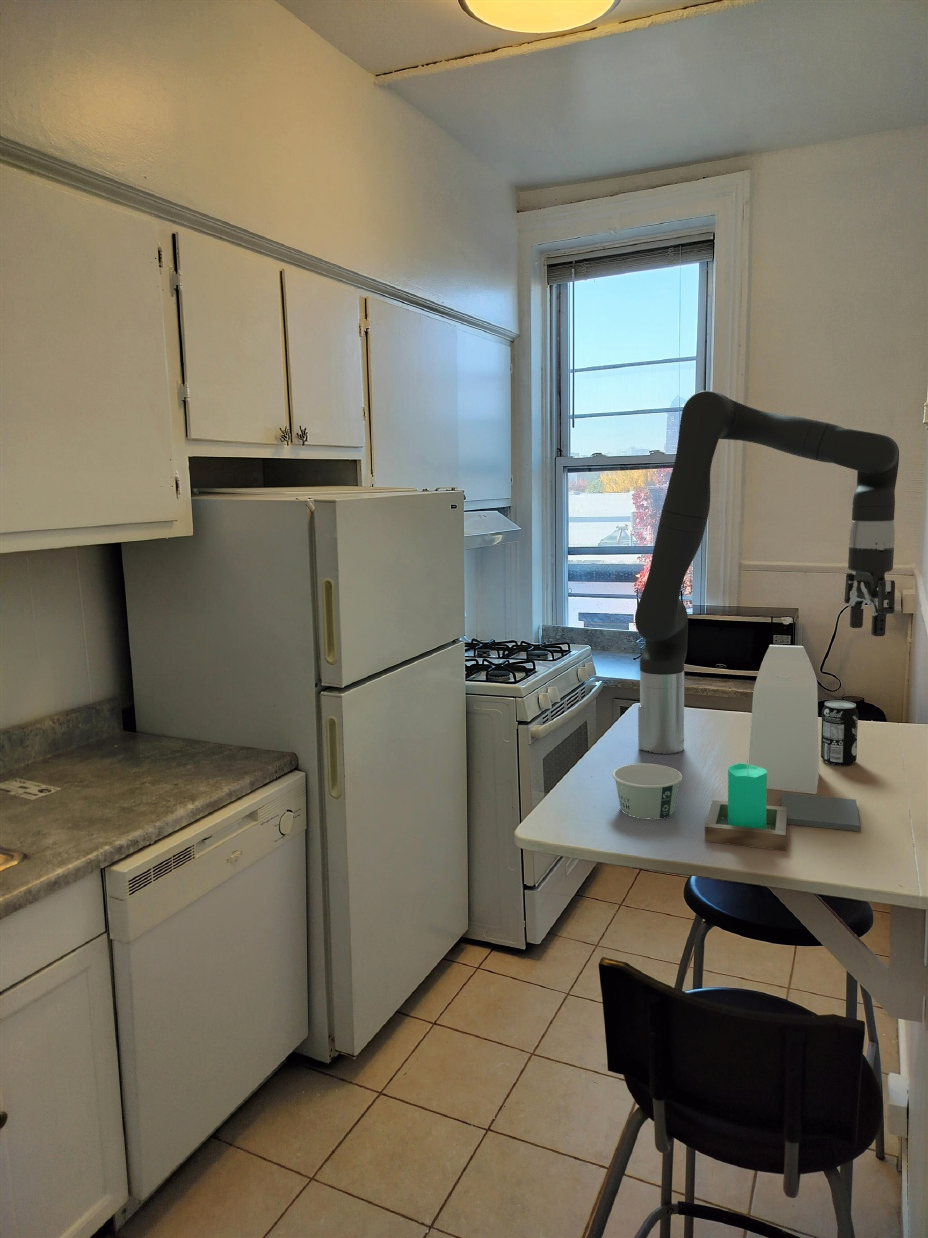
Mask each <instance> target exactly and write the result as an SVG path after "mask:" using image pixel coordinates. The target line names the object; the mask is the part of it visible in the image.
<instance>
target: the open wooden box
mask: <svg viewBox="0 0 928 1238" xmlns="http://www.w3.org/2000/svg"><path fill="white" fill-rule="evenodd" d="M707 814H708V815H707V819H706V822H705V825H704V842H708V843H716V844H717V843H718V844H725V845H733V846H743V847H750V848H751V847H752V848H758V849H759V848H760V849H769V850H777V851H784V852H785V851H786V841H787V840H786V839H787V825H788V824H787V807H781V806H778V805H777V806H776V805H767V810H766V824H775V830H774V829H767V828H766V829H758V828H749V827H740V826H731V825H728V824H720V821H721V819H727V820H728V800H727V801H725V800H716V799H713V800H712V801H711V804H710V807H709V810H708V813H707Z"/></svg>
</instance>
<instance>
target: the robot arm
mask: <svg viewBox="0 0 928 1238" xmlns="http://www.w3.org/2000/svg"><path fill="white" fill-rule="evenodd" d="M678 430H679V431H678V438H677V446H676V453H675V458H674V464H673V466H672V470H671V474H670V478H669V480H668V481H669V482H668V486H667V490H666V492H665V493H666V495H665V498H664V502H663V505H662V509H661V511H660V517H659V521H658V527H657V531H656V536H655V542H654V545H653V550H652V557H651V561H650V566H649V571H648V575H647V577H646V582H645V584H644V587H643V590H642V593H641V596H640V599H639V601H638V604H637V607H636V610H635V615H634V622H635V627H636V630H637V632H638V634H639V636H641V638H643V639H644V640H645V643H644V649H643V652H642V653H641V656H640V658H639V695H640V696H639V705H638V707H637V713H638V714H637V720H638V721H637V722H638V723H637V731H638V732H637V735H638V736H637V737H638V742H637V743H638V745H637V747H638V748H637V750H640V751H645V752H648V751H649V752H648V753H652V752H653V754H659V755H660V754H661V753H662V754H665V755H666V754H676V753H680V752H682V751H684V749H685V662H686V661H685V660H686V658H687V653H688V640H689V639H688V635H689V618H688V617H689V616H688V611H687V610H688V609H687V608H686V606H685V604H684V602H683V601H682V600H681V599H680V595H681V592H682V591H681V590H682V586H683V582H684V579H685V576H686V574H687V573H688V570H689V569H690V566H691V565H692V562H693V561H694V560H695V559H694V558H695V556H696V554H697V553H698V550H699V549H700V546H701V545H702V541H703V537H704V534H705V530H706V525H707V522H708V519H709V513H710V507H711V469H712V464H713V459H714V455H715V453H716V449H717V447H718V442H719V440H731V441H743V442H747V443H748V442H749V443H752V444H753V443H754V444H758V445H761V446H766V447H767V448H771V449H774V450H776V451H780V452H783V453H786V454H789V455H793V456H797V457H799V458H800V457H801V458H805V459H809V460H812V461H817V462H822V463H829V464H834V465H837V466H840V467H844V468H847V469H850V470H854V471H857V472H856V473H857V475H856V488H855V489H856V490H855V492H854V493H853V498H852V506H851V507H852V509H851V510H852V511H851V512H852V513H851V520H852V521H851V525H850V528H849V529H850V530H849V538H848V539H849V541H848V542H849V543H848V560H847V569H848V570H849V571H851V572H847V573H846V575H845V576H846V577H845V585H844V586H845V588H844V600H843V601H844V604H848V608H849V609H850V610H849V611H850V612H849V615H850V616H849V627H850V628H852V629H862V628H863V626H864V607H865V605H866V604H867V605H868V606H869V607H870V609H871V613H872V616H871V619H872V620H871V631H870V633H871V636H873V637H884V636H885V635H886V626H887V625H886V624H887V616H889V615H890V614H895V607H896V606H895V605H896V604H895V603H896V601H895V599H896V582H895V580H893V579H891V580H890V579H889V580H888V579H887V580H886V575H885V574H886V573H888V572H891V571H892V570H894V558H895V557H894V555H895V540H896V539H895V538H896V530H895V509H896V495H895V493H896V492H895V491H896V486H897V481H898V480H897V479H898V478H897V477H898V473H899V463H900V449H899V448H900V447H899V445H898V444H897V442H896V441H895V440H894V439H893V438H891V437H890V436H888V435H885V434H880V433H874V432H868V431H863V430H857V429H851V428H845V427H842V426H840V425H837V424H833V423H829V422H826V421H825V422H824V421H822V420H821V421H820V420H816V419H810V418H805V417H800V416H793V415H785V414H780V413H773V412H768V411H765V410H764V411H763V410H760V409H757V408H753V407H750V406H747V405H745V404H743V403H741V402H738V401H736V400H733V399H731V398H729V397H728V396H726V395H725V394H723V393H719V392H715V391H713V390H701V391H698V392H696V393H695V394H692V395H691V396H690V398H688V399H687V401H686V402H685V403H684V405H683V407H682V411H681V415H680V421H679V429H678Z"/></svg>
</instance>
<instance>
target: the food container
mask: <svg viewBox="0 0 928 1238" xmlns="http://www.w3.org/2000/svg"><path fill="white" fill-rule="evenodd" d="M611 775H612V778H613V779H614V780H615V785H616V790H617V794H618V801H619V807H620V810H621V809H622V810H623V811H624V812H625V813H627V814H628V815H631V816H635V817H639V818H650V819H649V820H658V819H657V818H662V819H665V818H664V817H666V818H668V817H667V816H669V817H671V816H672V815H673V814H674V813H675V808H676V802H677V798H678V792H679V785H680V782H681V781H682V779H683V775H682V773H681V772H680V771H679V770H678V769H676V768H673V767H670V766H667V765H662V764H657V763H632V764H625V765H622V766H619V767H617V768H615V769H614V770H613V771H612V774H611ZM673 812H674V813H673ZM672 813H673V814H672ZM628 815H627V816H628ZM670 815H671V816H670ZM631 816H630V817H631ZM639 818H638V819H639ZM655 818H656V819H655Z"/></svg>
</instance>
